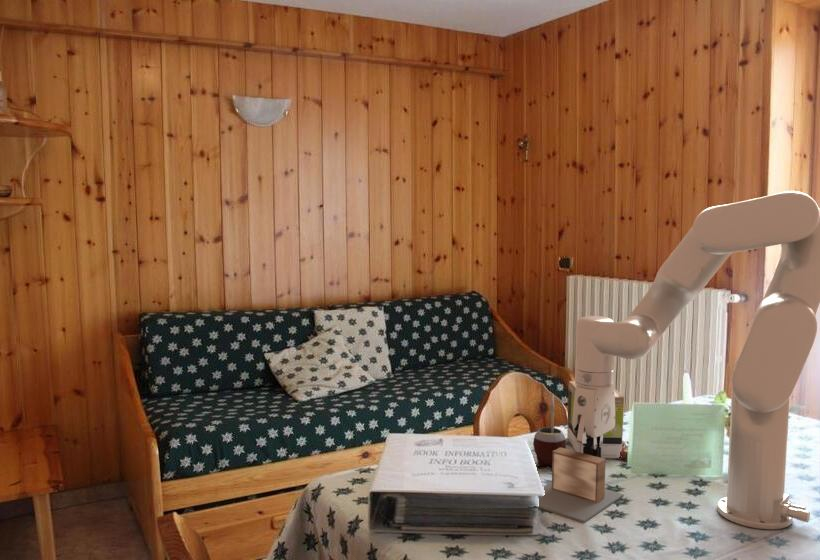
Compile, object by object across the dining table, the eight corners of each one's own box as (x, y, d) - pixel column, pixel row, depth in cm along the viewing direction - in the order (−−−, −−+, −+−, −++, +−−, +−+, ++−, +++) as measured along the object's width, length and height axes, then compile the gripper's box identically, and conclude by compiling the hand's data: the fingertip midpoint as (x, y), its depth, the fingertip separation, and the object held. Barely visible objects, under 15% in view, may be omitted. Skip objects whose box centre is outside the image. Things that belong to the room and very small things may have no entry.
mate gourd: (545, 473, 152) (546, 405, 151) (524, 461, 159) (525, 397, 158) (573, 468, 155) (575, 401, 154) (551, 456, 162) (553, 393, 161)
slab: (604, 498, 138) (605, 458, 137) (596, 503, 136) (598, 463, 135) (559, 485, 145) (560, 447, 144) (551, 489, 143) (552, 451, 142)
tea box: (623, 459, 161) (625, 396, 159) (579, 459, 161) (580, 395, 160) (606, 437, 176) (608, 379, 174) (566, 437, 176) (567, 379, 174)
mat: (623, 496, 140) (623, 494, 140) (584, 522, 128) (584, 520, 128) (561, 478, 150) (561, 476, 149) (519, 501, 138) (519, 499, 138)
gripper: (593, 387, 135) (590, 480, 136) (628, 374, 145) (625, 460, 147) (558, 381, 140) (556, 470, 141) (595, 368, 151) (592, 451, 152)
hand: (591, 465), depth 144 cm, fingers closed
